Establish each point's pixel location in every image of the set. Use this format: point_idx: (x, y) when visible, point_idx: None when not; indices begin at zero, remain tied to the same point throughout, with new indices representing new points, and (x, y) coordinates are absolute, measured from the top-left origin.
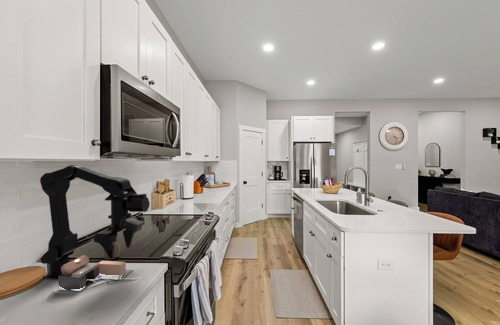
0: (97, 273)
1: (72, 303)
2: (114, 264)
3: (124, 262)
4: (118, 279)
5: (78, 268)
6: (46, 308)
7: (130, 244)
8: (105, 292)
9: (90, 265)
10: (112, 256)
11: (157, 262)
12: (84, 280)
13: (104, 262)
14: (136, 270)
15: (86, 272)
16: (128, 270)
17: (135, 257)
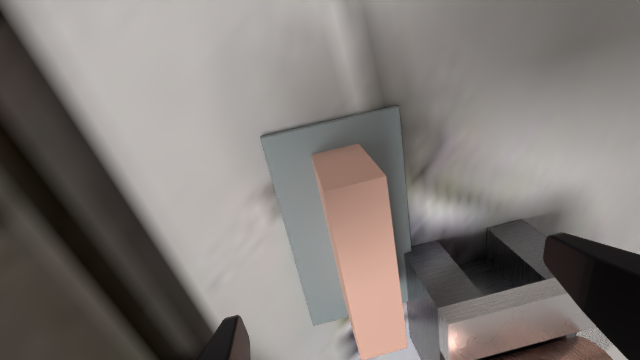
0: (427, 271)
1: (612, 154)
2: (392, 234)
3: (338, 189)
4: (398, 123)
5: (540, 354)
6: (635, 220)
7: (208, 346)
8: (524, 77)
9: (486, 338)
10: (573, 236)
11: (29, 44)
12: (526, 252)
13: (381, 323)
14: (240, 117)
15: (546, 285)
16: (276, 165)
17: (92, 293)
